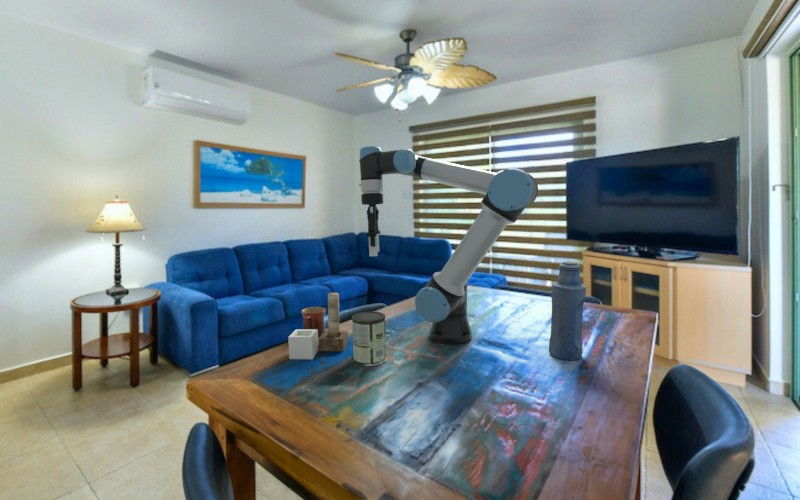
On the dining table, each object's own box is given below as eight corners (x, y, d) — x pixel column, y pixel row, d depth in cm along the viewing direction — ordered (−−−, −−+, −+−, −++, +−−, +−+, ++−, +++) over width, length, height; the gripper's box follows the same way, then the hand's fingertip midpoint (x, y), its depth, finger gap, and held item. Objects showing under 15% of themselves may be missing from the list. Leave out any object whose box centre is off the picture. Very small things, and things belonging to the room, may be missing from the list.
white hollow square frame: (318, 353, 123) (317, 329, 122) (312, 362, 116) (311, 337, 115) (296, 352, 123) (295, 329, 122) (289, 362, 116) (288, 337, 115)
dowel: (329, 344, 128) (329, 292, 126) (340, 344, 128) (340, 292, 125) (327, 348, 124) (326, 295, 122) (338, 348, 124) (337, 295, 122)
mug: (308, 332, 143) (307, 306, 142) (330, 334, 142) (329, 307, 140) (293, 343, 132) (292, 315, 130) (317, 345, 130) (316, 316, 129)
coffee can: (361, 351, 124) (360, 310, 122) (390, 355, 121) (390, 312, 119) (347, 364, 114) (345, 319, 113) (378, 368, 111) (377, 322, 109)
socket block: (348, 345, 130) (347, 331, 129) (343, 354, 122) (343, 339, 121) (325, 344, 130) (324, 330, 130) (319, 353, 122) (318, 339, 122)
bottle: (556, 346, 127) (559, 258, 123) (587, 354, 120) (591, 261, 116) (543, 355, 120) (547, 261, 116) (575, 363, 113) (580, 265, 109)
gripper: (364, 194, 143) (366, 250, 145) (357, 191, 118) (360, 258, 120) (384, 194, 143) (386, 249, 145) (381, 190, 118) (384, 257, 120)
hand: (374, 254), depth 132 cm, fingers open, 13 cm apart
